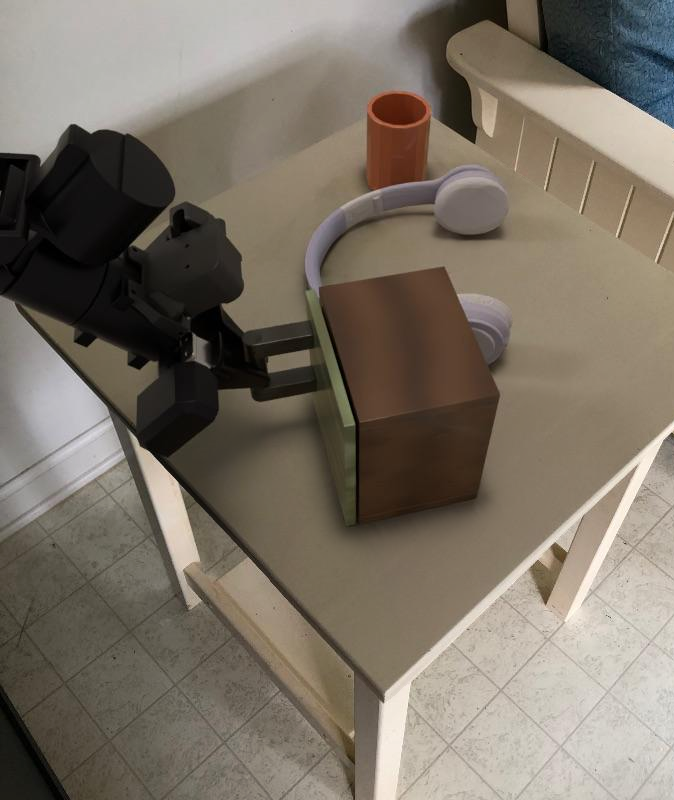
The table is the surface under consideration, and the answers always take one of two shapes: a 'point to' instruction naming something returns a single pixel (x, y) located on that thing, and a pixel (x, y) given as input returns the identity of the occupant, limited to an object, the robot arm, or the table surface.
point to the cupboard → (411, 390)
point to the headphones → (454, 210)
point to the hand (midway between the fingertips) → (265, 373)
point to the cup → (397, 139)
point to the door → (312, 390)
